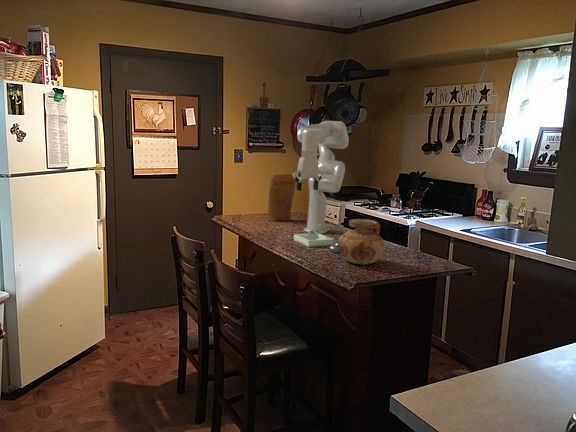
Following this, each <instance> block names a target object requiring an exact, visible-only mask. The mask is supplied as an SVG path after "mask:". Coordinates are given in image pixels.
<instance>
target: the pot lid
mask: <svg viewBox="0 0 576 432" xmlns="http://www.w3.org/2000/svg"><path fill="white" fill-rule="evenodd" d="M338 243H339V242H337V243H334V244H332V245H329V246H328V251H329V252H330V253H332V254H336V255H337V254H340V251H339V246H338ZM340 255H341V254H340Z"/></svg>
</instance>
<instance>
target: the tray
mask: <svg viewBox="0 0 576 432" xmlns="http://www.w3.org/2000/svg"><path fill="white" fill-rule="evenodd" d="M293 241H295V242H297V243H299V244H301V245H302V246H305V247H307V248H313V247H327V246H328V247H329V245H332V244H335V242H334V241H335V239H334V238H332V237H329V236H327V235H323V233H319V234H318V233H316V240H308V239H307V233H298V234H297V233H296V234H294V235H293Z"/></svg>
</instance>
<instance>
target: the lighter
mask: <svg viewBox="0 0 576 432" xmlns="http://www.w3.org/2000/svg"><path fill="white" fill-rule="evenodd" d="M321 228H322V226H321V225H318V227H317V229H316V231H315V232H314V231H313V230H312V231H310V232H306V234H307V239H308V240H316V233H318V234H320V233H319V232H320V230H321Z"/></svg>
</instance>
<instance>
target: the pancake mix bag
mask: <svg viewBox="0 0 576 432" xmlns="http://www.w3.org/2000/svg"><path fill="white" fill-rule="evenodd" d="M296 186H297V182H296V181H295V179H294V177H293V173H289V174H288V173H287V174H286V173H285V174H272V176H271V177H270V181H269V188H268V197H267V198H268V199H267V202H268V203H267V205H268V206H267V220H266V221H267V222H273V221H275V222H290V221H291V220H292V215H291V213H292V207H293V198H294V196H295V195H294V194H295V191H296V190H295V189H296Z"/></svg>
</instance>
